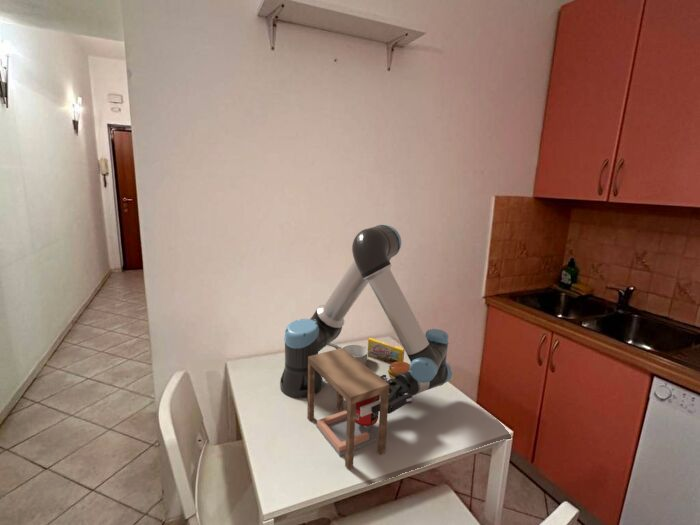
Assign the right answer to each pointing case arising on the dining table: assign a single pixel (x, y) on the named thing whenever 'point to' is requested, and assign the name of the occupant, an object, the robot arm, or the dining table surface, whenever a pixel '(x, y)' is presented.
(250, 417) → the dining table surface
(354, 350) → the saucepan
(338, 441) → the seat
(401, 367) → the burger
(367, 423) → the canned food
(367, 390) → the bench
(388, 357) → the candy box
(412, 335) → the robot arm
